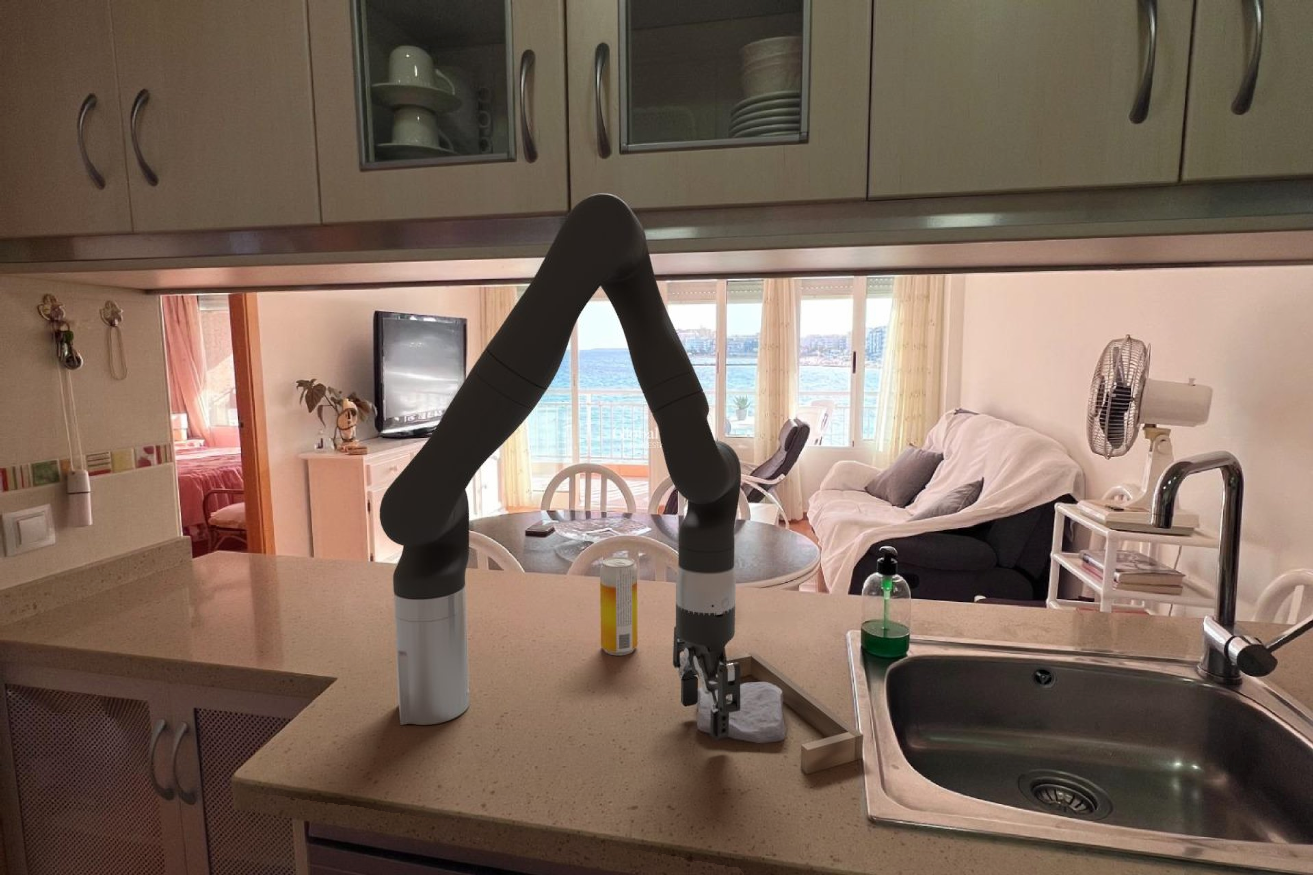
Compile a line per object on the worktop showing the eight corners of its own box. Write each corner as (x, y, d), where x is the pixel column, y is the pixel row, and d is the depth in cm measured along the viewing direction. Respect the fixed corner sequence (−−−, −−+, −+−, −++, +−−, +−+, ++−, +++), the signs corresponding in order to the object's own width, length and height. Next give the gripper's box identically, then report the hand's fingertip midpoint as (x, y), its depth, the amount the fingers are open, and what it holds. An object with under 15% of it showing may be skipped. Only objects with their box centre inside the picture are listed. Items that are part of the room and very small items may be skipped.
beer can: (627, 638, 116) (627, 554, 114) (643, 652, 111) (643, 563, 109) (595, 645, 113) (594, 559, 112) (610, 659, 108) (609, 569, 106)
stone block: (789, 758, 85) (782, 703, 94) (789, 727, 83) (782, 674, 93) (695, 756, 86) (697, 702, 95) (693, 725, 84) (696, 674, 94)
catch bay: (806, 774, 78) (807, 749, 78) (707, 679, 101) (707, 660, 101) (862, 757, 81) (863, 734, 81) (753, 669, 104) (753, 651, 104)
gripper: (656, 585, 90) (655, 700, 92) (704, 624, 77) (702, 756, 79) (706, 578, 93) (704, 689, 95) (761, 615, 80) (757, 742, 82)
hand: (703, 720), depth 87 cm, fingers open, 8 cm apart
